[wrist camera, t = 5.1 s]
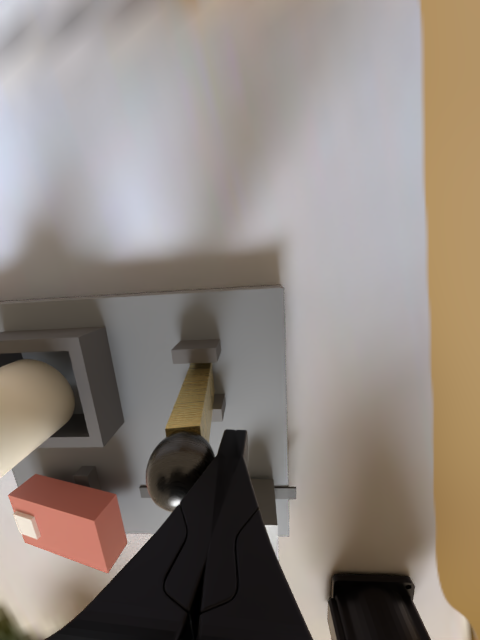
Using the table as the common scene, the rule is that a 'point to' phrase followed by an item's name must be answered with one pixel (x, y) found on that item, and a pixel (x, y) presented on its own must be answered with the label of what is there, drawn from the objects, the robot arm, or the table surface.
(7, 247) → the table surface
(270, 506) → the slider
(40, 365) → the button
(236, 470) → the robot arm
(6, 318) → the panel
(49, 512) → the rocker
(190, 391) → the lever
